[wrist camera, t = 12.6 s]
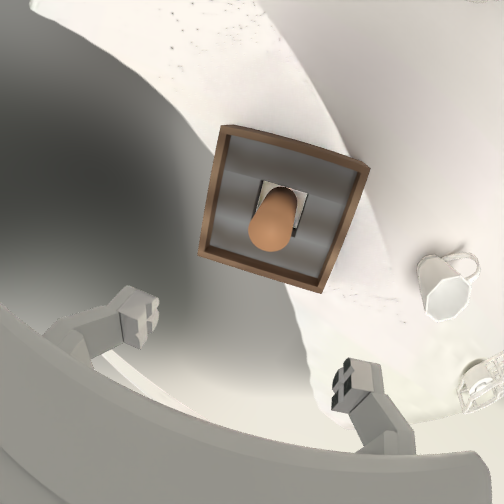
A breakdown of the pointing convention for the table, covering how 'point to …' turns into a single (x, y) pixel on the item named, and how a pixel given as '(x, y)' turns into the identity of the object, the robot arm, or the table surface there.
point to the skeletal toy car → (481, 383)
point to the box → (289, 175)
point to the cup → (444, 286)
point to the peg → (274, 220)
